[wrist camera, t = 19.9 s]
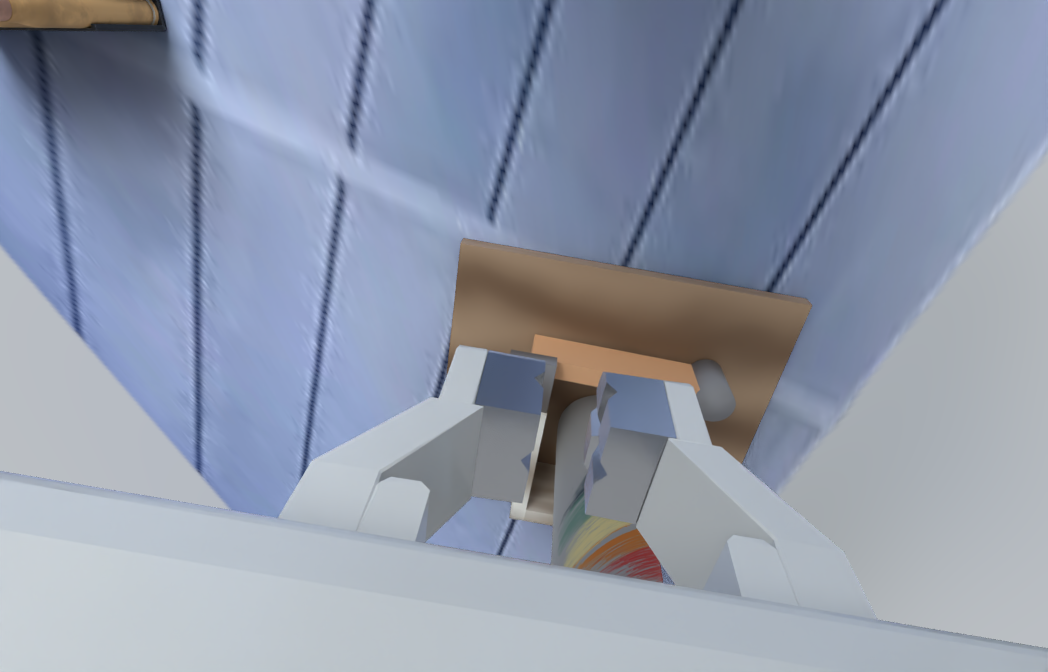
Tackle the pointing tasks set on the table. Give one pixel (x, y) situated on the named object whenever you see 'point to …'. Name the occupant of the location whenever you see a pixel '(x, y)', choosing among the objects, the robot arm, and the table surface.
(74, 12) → the ammunition clip
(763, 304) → the cradle
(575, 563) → the lotion bottle
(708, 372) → the arm
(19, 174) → the table surface
